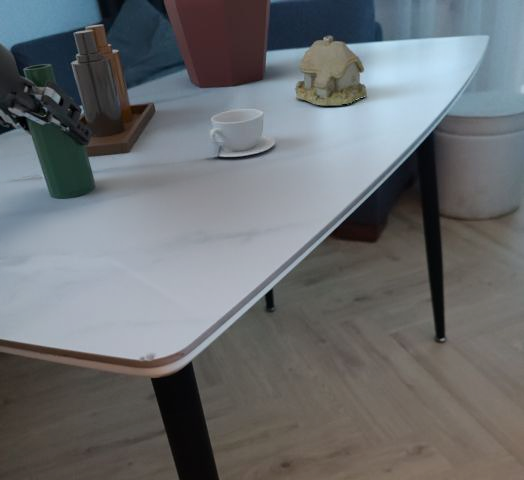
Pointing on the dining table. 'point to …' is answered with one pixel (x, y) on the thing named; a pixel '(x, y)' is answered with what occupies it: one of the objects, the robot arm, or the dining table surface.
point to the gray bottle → (97, 87)
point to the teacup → (239, 133)
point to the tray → (124, 139)
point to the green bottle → (58, 149)
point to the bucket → (221, 39)
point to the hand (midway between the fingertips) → (67, 137)
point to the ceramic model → (330, 74)
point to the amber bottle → (114, 69)
